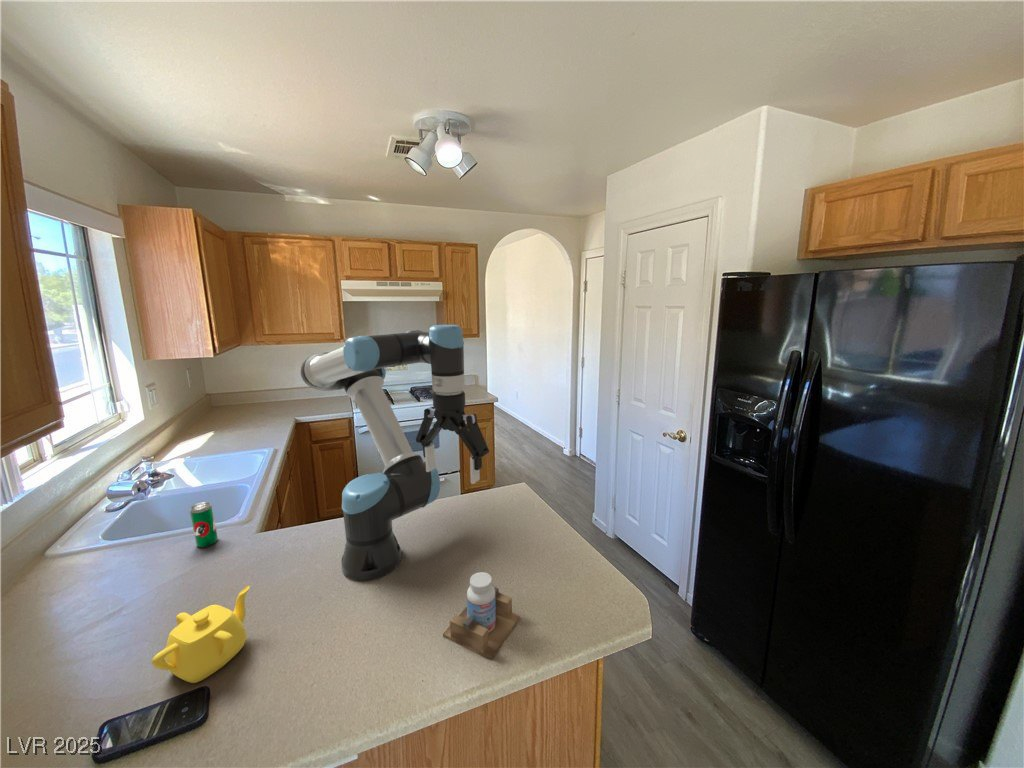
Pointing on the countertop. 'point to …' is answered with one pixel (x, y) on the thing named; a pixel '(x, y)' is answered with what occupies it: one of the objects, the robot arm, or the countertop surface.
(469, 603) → the pill bottle
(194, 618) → the teapot
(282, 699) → the countertop surface
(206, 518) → the soda can
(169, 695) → the countertop surface
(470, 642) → the clip stand
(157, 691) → the countertop surface
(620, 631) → the countertop surface
